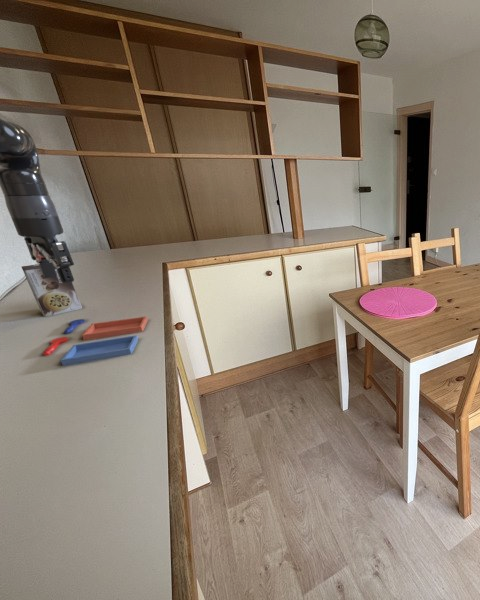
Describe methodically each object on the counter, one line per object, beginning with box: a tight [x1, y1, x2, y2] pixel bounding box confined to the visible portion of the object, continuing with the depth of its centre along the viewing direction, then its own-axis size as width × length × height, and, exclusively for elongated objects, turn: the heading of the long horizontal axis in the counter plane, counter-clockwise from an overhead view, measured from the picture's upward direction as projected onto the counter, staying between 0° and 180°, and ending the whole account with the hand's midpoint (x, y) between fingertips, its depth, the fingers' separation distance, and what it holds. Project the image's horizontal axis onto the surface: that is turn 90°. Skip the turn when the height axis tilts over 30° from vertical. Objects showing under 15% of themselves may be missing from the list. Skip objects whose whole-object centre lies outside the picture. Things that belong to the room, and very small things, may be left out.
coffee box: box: [21, 263, 83, 317], centre depth 102 cm, size 9×6×16 cm
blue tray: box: [60, 334, 139, 367], centre depth 82 cm, size 13×8×2 cm, turn 118°
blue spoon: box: [63, 318, 86, 335], centre depth 94 cm, size 10×3×1 cm, turn 28°
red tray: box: [81, 316, 149, 341], centre depth 93 cm, size 13×8×2 cm, turn 118°
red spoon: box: [42, 336, 69, 357], centre depth 83 cm, size 10×3×1 cm, turn 28°
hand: (59, 279), depth 80 cm, fingers open, 8 cm apart
